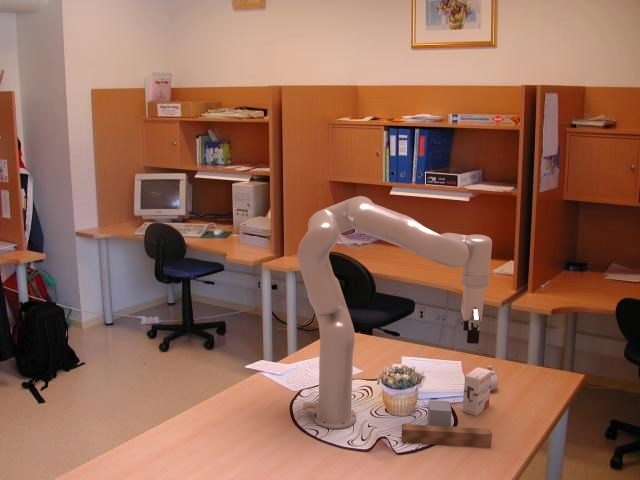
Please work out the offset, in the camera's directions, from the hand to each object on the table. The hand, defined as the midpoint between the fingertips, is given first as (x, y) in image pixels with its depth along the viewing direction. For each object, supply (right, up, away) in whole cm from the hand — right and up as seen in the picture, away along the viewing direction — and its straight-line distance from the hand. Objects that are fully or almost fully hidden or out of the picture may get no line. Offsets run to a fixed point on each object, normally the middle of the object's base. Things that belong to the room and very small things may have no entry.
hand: (470, 336), depth 206 cm
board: (-9, -28, -8) cm, 30 cm away
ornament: (+11, -21, +24) cm, 34 cm away
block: (-9, -26, +2) cm, 27 cm away
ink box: (+4, -23, +12) cm, 27 cm away
